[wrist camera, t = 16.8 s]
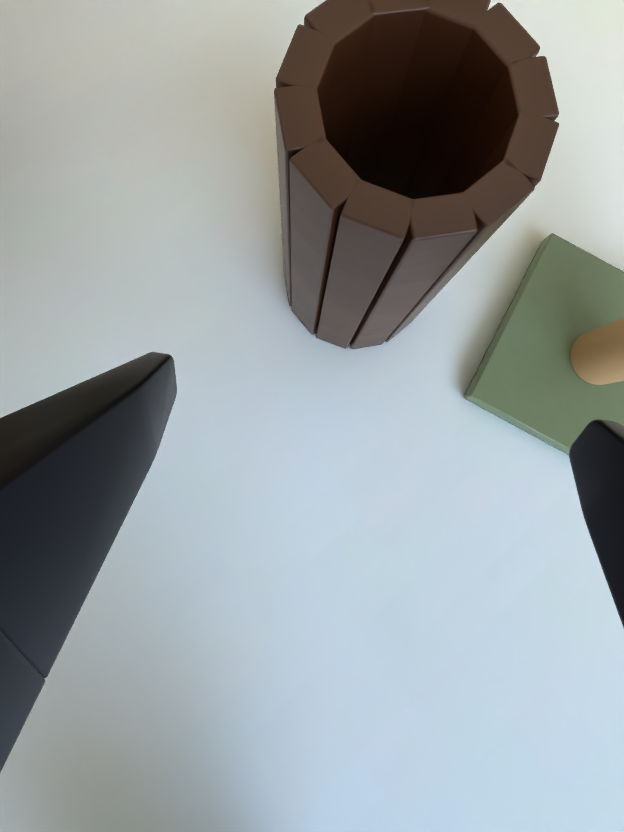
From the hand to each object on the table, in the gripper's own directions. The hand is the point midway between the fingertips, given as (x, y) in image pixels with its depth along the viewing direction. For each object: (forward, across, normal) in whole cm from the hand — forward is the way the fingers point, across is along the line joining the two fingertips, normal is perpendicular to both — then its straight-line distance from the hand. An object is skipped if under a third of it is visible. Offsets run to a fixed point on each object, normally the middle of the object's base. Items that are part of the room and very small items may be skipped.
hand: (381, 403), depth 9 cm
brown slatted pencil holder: (+12, 0, +2) cm, 12 cm away
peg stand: (+11, -12, +4) cm, 16 cm away
